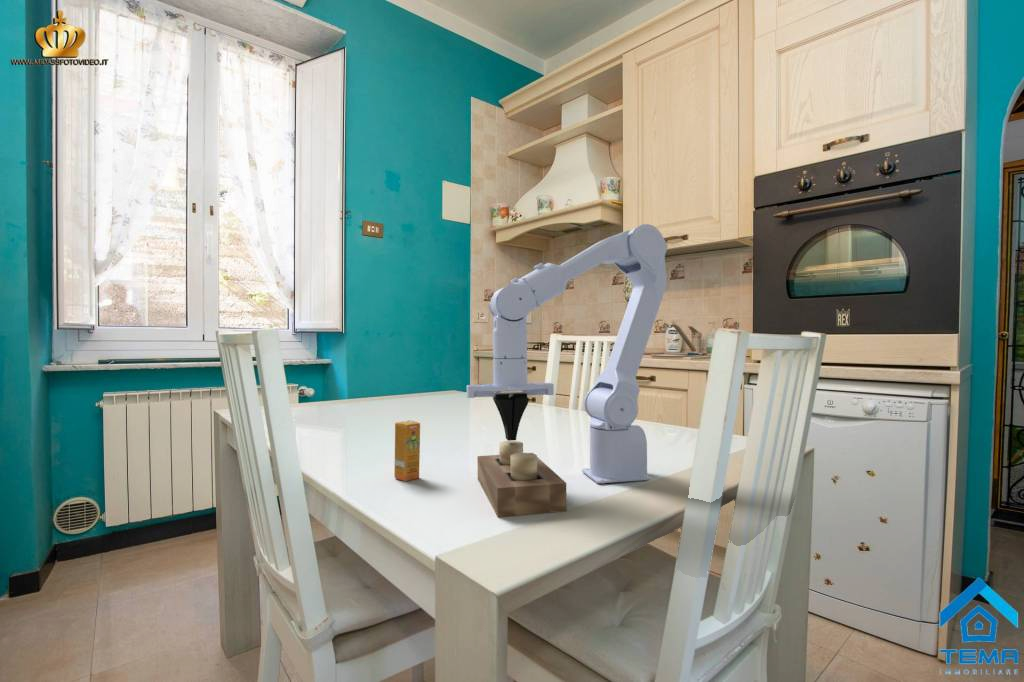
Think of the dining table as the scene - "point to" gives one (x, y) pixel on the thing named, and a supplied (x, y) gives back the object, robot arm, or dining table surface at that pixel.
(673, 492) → the dining table surface
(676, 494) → the dining table surface
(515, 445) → the peg
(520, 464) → the peg
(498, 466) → the wooden peg hole block
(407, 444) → the supplement box
